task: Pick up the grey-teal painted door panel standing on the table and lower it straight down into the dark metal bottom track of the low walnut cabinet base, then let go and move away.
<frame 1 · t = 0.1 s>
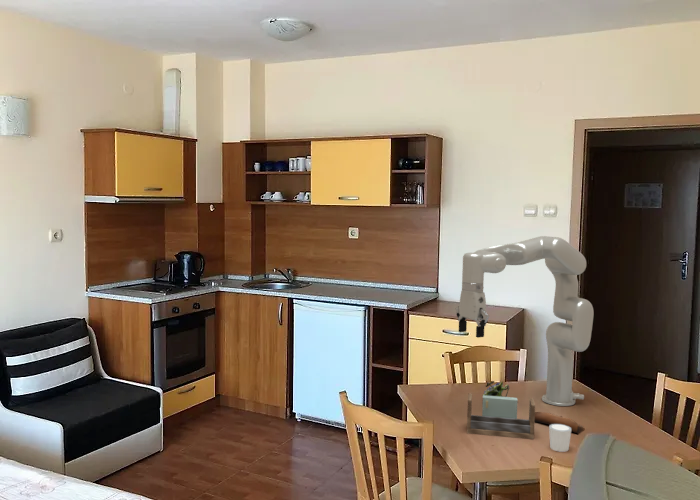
hand: (471, 334, 227), 31 cm above the table, tool pointing down, fingers open, 9 cm apart
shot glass: (559, 448, 203), on the table
door panel: (499, 422, 226), on the table
passion flower: (496, 405, 245), on the table
track base: (499, 431, 216), on the table
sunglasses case: (558, 426, 224), on the table
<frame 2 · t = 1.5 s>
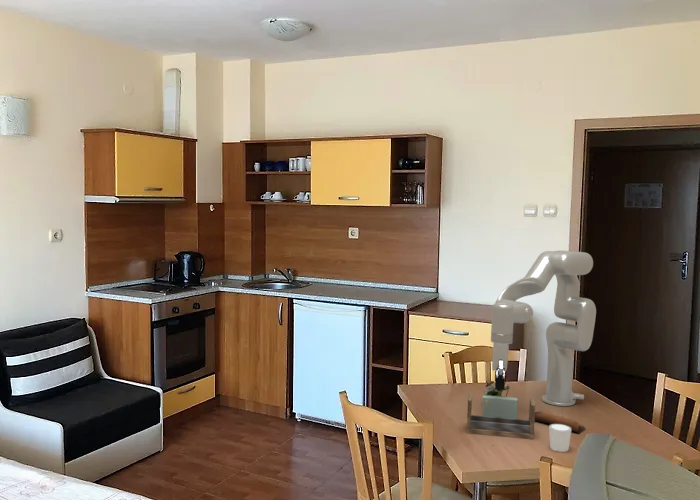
hand: (499, 385, 224), 14 cm above the table, tool pointing down, fingers open, 9 cm apart
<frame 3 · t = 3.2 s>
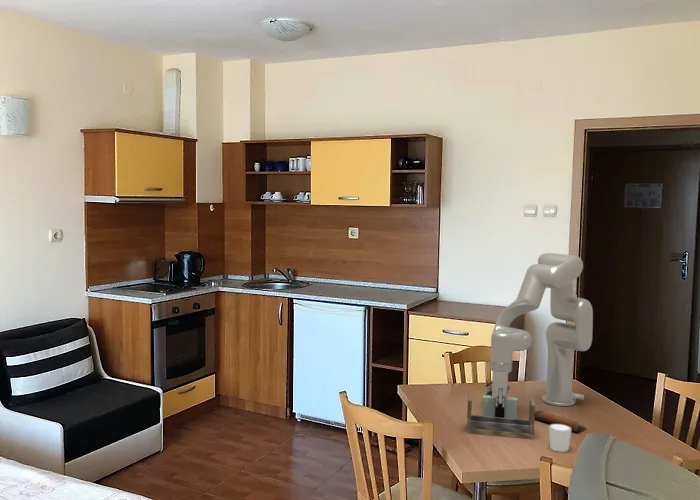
hand: (499, 415, 226), 2 cm above the table, tool pointing down, fingers closed on door panel, 3 cm apart
door panel: (499, 422, 226), on the table, touching gripper
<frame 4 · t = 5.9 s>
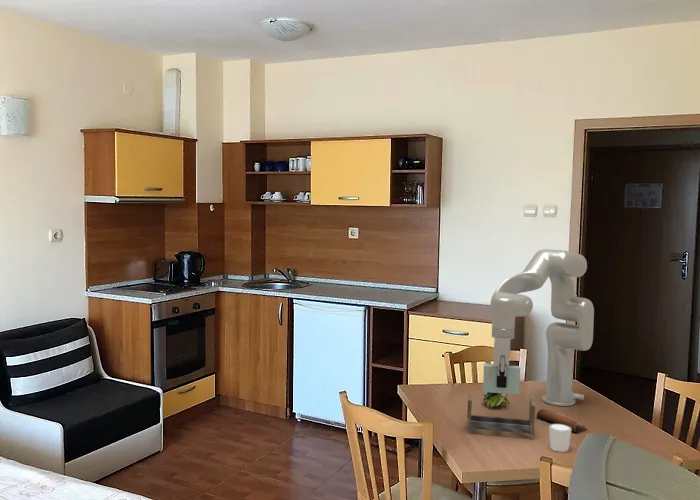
hand: (501, 385, 215), 16 cm above the table, tool pointing down, fingers closed on door panel, 3 cm apart
door panel: (501, 391, 215), point 14 cm above the table, touching gripper
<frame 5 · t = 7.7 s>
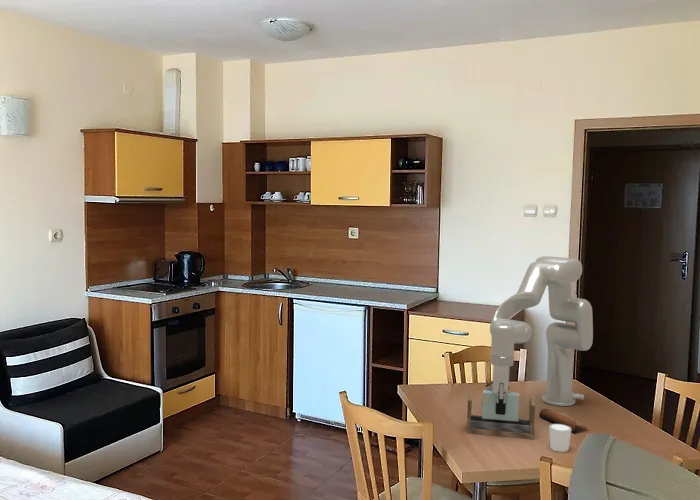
hand: (500, 411, 216), 7 cm above the table, tool pointing down, fingers closed on door panel, 3 cm apart
door panel: (500, 418, 216), point 5 cm above the table, touching gripper
when the fingers open (5 cm above the table, at t = 8.9 s): door panel stays where it is, resting on track base.
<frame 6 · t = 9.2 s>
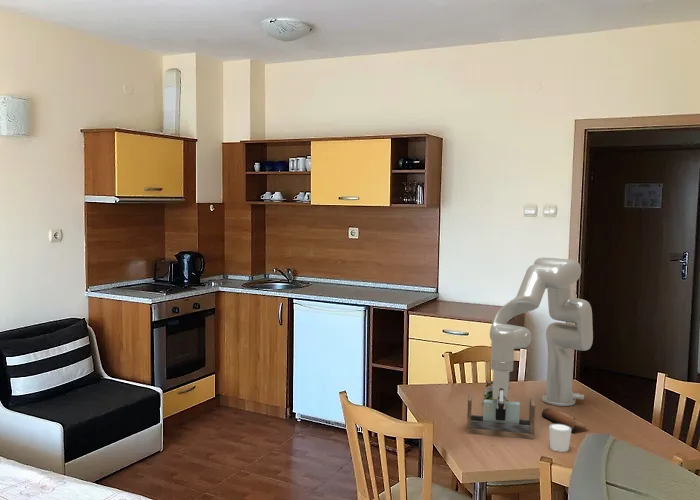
hand: (500, 416, 216), 5 cm above the table, tool pointing down, fingers open, 5 cm apart
door panel: (500, 427, 216), point 1 cm above the table, touching track base
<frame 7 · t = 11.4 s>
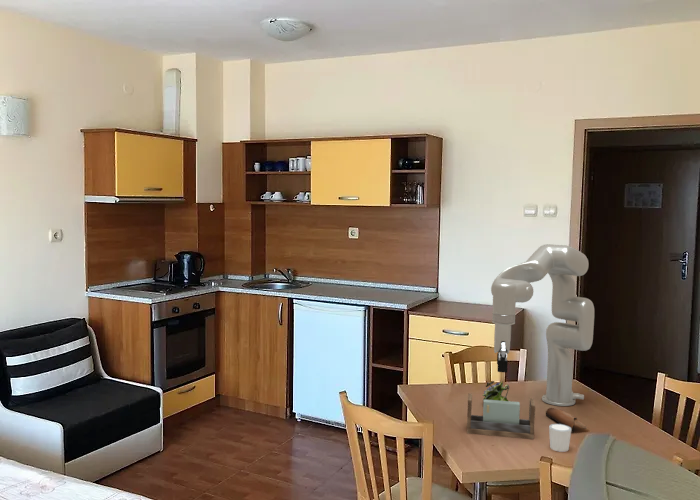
hand: (502, 368, 215), 22 cm above the table, tool pointing down, fingers open, 9 cm apart
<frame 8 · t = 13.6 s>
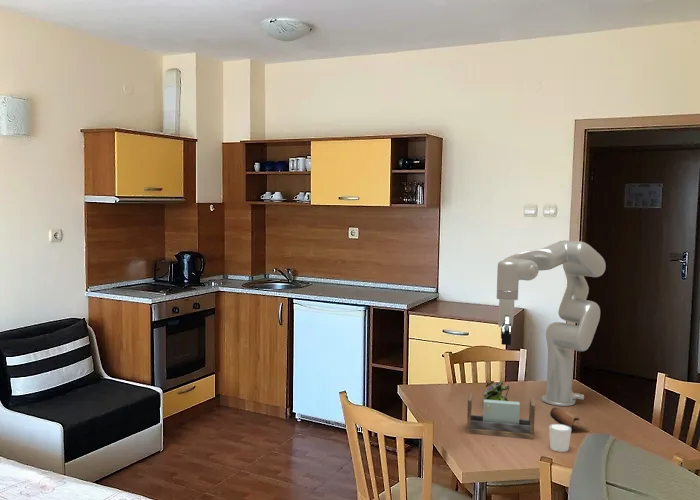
hand: (505, 341, 228), 28 cm above the table, tool pointing down, fingers open, 9 cm apart
at the end: door panel inside the target area on the track base (0.3 cm from its centre), point 1.5 cm above the track base's base; door panel tilted 0°; the gripper is holding nothing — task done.
